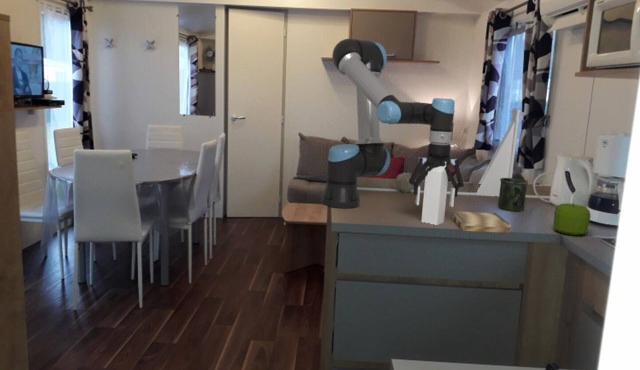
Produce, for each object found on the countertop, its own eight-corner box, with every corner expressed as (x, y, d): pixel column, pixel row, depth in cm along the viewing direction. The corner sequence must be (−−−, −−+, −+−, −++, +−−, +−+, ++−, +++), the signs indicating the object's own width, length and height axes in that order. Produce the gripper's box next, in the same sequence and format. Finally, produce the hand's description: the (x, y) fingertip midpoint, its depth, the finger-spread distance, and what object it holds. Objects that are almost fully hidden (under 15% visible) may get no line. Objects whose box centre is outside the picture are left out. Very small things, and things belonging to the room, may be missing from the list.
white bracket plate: (474, 189, 259) (483, 106, 252) (505, 191, 256) (514, 108, 248) (476, 196, 240) (485, 107, 233) (509, 199, 236) (519, 109, 229)
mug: (520, 207, 222) (524, 178, 220) (530, 215, 208) (534, 185, 205) (494, 205, 223) (497, 177, 221) (501, 212, 209) (505, 183, 206)
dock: (462, 230, 178) (463, 221, 177) (451, 219, 193) (451, 210, 193) (509, 233, 178) (510, 224, 177) (494, 221, 194) (495, 212, 193)
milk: (428, 219, 192) (433, 159, 188) (444, 222, 188) (450, 161, 184) (421, 222, 187) (426, 160, 183) (436, 225, 183) (442, 162, 179)
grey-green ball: (412, 197, 243) (422, 177, 241) (403, 196, 237) (412, 176, 234) (397, 187, 249) (406, 168, 246) (387, 186, 242) (396, 167, 240)
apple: (556, 236, 177) (560, 204, 175) (548, 228, 188) (552, 198, 186) (591, 239, 176) (596, 207, 174) (581, 231, 186) (586, 200, 184)
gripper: (407, 142, 179) (402, 205, 183) (477, 146, 179) (470, 209, 183) (403, 140, 186) (399, 201, 190) (471, 144, 186) (464, 204, 190)
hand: (434, 205), depth 186 cm, fingers open, 11 cm apart
